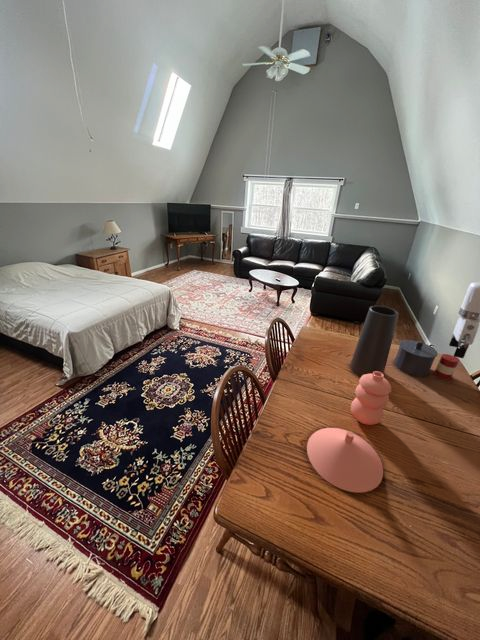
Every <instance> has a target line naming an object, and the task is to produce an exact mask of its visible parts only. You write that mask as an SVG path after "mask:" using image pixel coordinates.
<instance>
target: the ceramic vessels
mask: <svg viewBox="0 0 480 640" xmlns="http://www.w3.org/2000/svg"><path fill="white" fill-rule="evenodd" d="M358 382H359V383H358V384H357V386H356V387H355V396H356V397H355V398H354V399H353V400H352V402H351V404H350V412H351V414H352V416H353V417H354V419H355V420H356V421H358V422H360V423H361V424H364V425H368V426H373V425H377V424H379V423H380V422H381V421H382V420H383V417H384V407H386V406H387V404H388V403H389V401H390V396H389V394H390V393H391V392H392V385H391V383H390V381H389V380H387V379H386V378H385V375H384V374H383V373H381V372H378V371H374V372H373V374H365V375H363V376H362V377H360V378H359V380H358ZM306 453H307V457H308V459H309V463H310V464H311V466H312V468H313V469H314V470H315V471H316V472H317V473H318V475H319V476H320V477H321V478H322V479H324V481H326V482H327V483H329V484H331V485H332V486H334V487H336V488H338V489H340V490H343V491H346V492H351V493H356V494H358V493H360V494H361V493H367V492H370V491H373V490H375V489H376V488H377V487H378V486H379V485H380V484H381V483H382V480H383V477H384V467H383V462H382V460H381V458H380V456H379V454H378V452H377V451H376V450H375V448H373V446H372V445H371V444H369V442H367V441H366V440H364V439H363V438H362V437H361V436H359V435H357V434H356V433H354V432H353V431H351V430H347V429H343V428H339V427H325V428H320V429H318V430H316V431H315V432H313V433H312V434H311V435H310V437H309V438H308V440H307V444H306Z"/></svg>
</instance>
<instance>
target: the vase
mask: <svg viewBox="0 0 480 640" xmlns="http://www.w3.org/2000/svg"><path fill="white" fill-rule="evenodd" d="M399 315H400V313H399V312H398V311H397V310H396V309H394V308H391V307H388V306H385V305H371V306H370V307H369V308H368V311H367V314H366V317H365V320H364V322H363V326H362V328H361V330H360V335H359V337H358V340H357V343H356V346H355V349H354V352H353V355H352V358H351V361H350V364H349V369H350V371H351V372H352V373H353V374H354V375H356V376H358V377H360V378H361V377H362V376H363V375H365V374H373V372H374V371H378V372H381V373H383V375H384V374H385V370H386V366H387V363H388V358H389V354H390V350H391V347H392V342H393V338H394V336H395V331H396V327H397V324H398V319H399Z"/></svg>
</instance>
